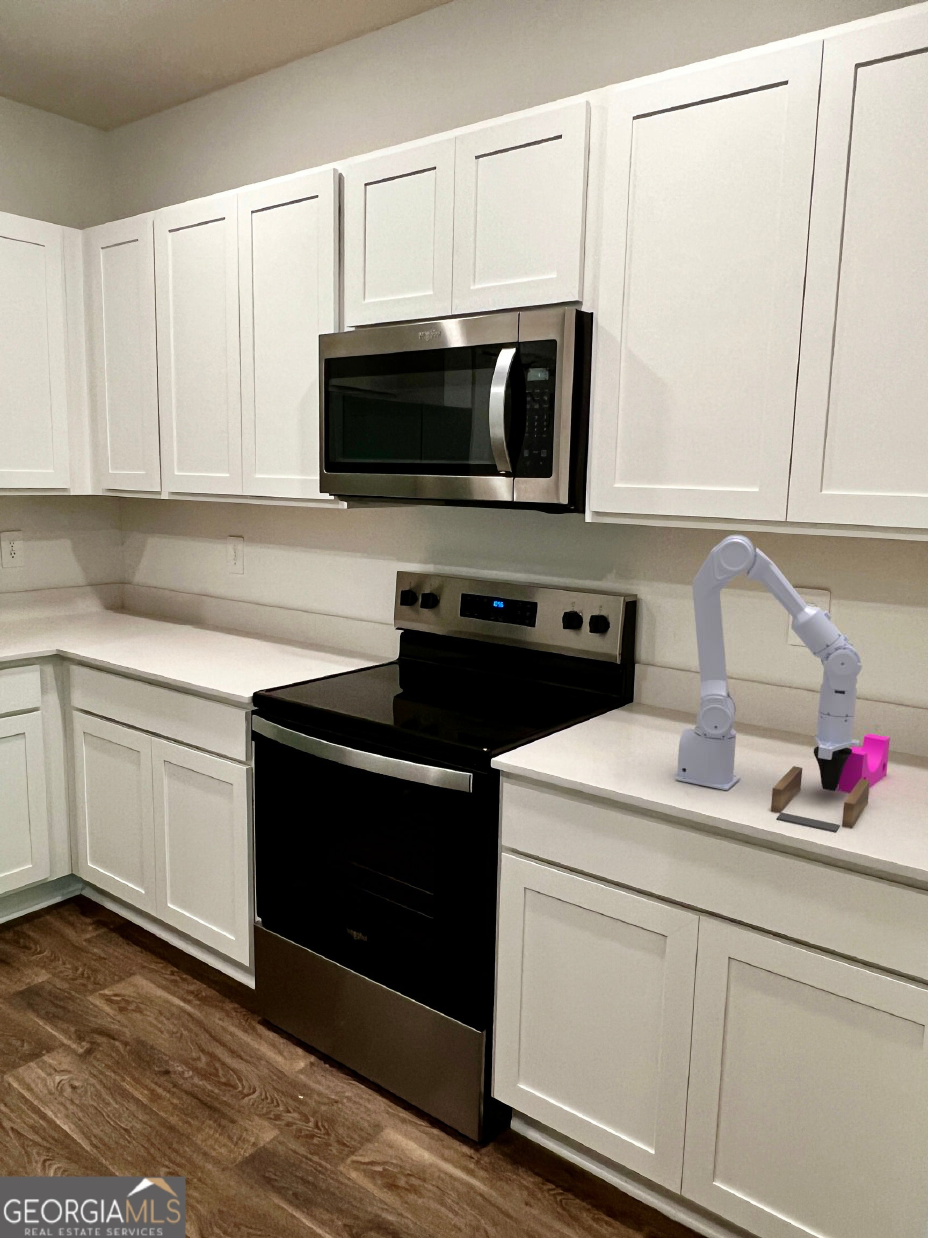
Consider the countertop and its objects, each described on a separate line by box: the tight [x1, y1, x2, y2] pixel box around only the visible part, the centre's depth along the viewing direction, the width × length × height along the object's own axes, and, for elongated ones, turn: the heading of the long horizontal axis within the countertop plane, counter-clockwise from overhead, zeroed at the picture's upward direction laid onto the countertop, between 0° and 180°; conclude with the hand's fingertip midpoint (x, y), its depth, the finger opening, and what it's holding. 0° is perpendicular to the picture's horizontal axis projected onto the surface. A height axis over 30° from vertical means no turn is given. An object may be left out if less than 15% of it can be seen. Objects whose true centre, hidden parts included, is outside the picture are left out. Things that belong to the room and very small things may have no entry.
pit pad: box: [776, 811, 841, 833], centre depth 143 cm, size 9×3×1 cm, turn 57°
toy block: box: [837, 733, 891, 794], centre depth 164 cm, size 15×6×8 cm, turn 139°
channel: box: [770, 765, 870, 829], centre depth 150 cm, size 12×14×4 cm
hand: (829, 789), depth 156 cm, fingers closed
